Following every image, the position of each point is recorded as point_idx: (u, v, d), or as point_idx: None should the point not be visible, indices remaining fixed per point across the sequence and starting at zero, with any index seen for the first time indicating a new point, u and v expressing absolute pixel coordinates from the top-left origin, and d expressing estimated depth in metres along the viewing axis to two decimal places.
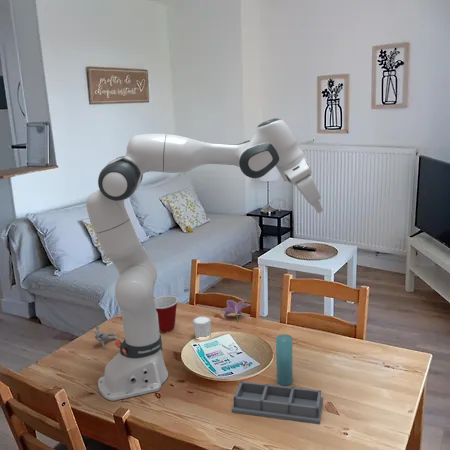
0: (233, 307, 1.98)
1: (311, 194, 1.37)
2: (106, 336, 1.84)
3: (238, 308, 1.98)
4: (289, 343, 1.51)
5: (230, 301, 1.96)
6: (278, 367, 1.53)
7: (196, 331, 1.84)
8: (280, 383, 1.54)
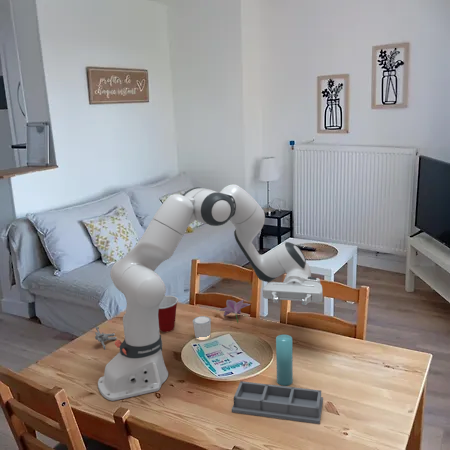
0: (233, 307, 1.98)
1: (322, 294, 1.66)
2: (106, 336, 1.84)
3: (238, 308, 1.98)
4: (289, 343, 1.51)
5: (229, 301, 1.96)
6: (278, 367, 1.53)
7: (196, 331, 1.84)
8: (280, 383, 1.54)
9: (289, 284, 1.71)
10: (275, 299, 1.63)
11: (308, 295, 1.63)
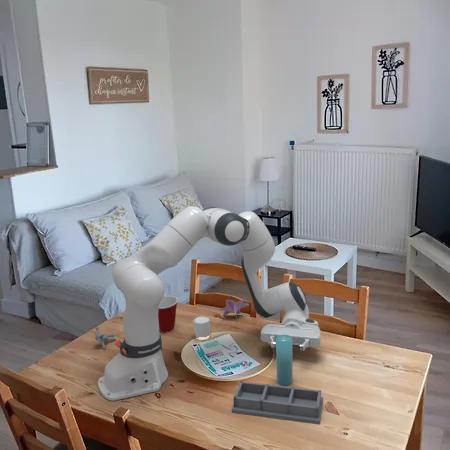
0: (232, 307, 1.98)
1: None
2: (106, 337, 1.83)
3: (237, 308, 1.98)
4: (289, 343, 1.51)
5: (229, 301, 1.96)
6: (278, 367, 1.53)
7: (196, 331, 1.84)
8: (280, 383, 1.54)
9: (287, 327, 1.71)
10: (273, 344, 1.63)
11: (306, 340, 1.63)
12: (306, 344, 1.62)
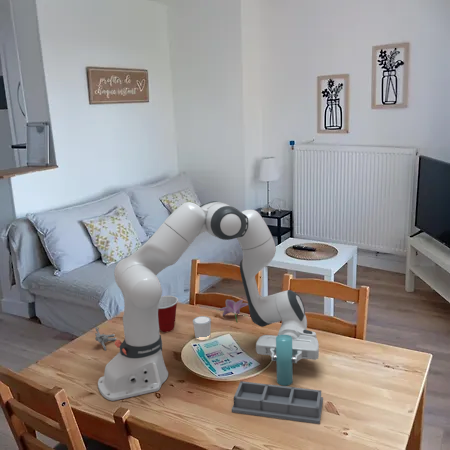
0: (232, 307, 1.98)
1: None
2: (106, 337, 1.83)
3: (237, 308, 1.99)
4: (289, 343, 1.51)
5: (228, 301, 1.96)
6: (278, 367, 1.53)
7: (196, 331, 1.84)
8: (280, 383, 1.54)
9: None
10: (273, 357, 1.54)
11: (298, 352, 1.55)
12: (298, 356, 1.54)
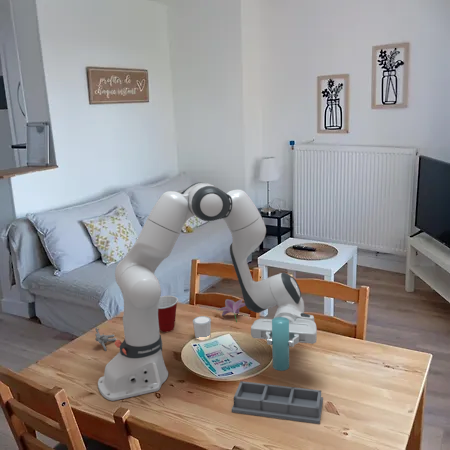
0: (231, 306, 1.98)
1: None
2: (106, 338, 1.83)
3: (236, 307, 1.99)
4: (286, 325, 1.43)
5: (228, 301, 1.96)
6: (274, 351, 1.46)
7: (196, 331, 1.84)
8: (276, 368, 1.47)
9: None
10: (269, 341, 1.47)
11: (296, 335, 1.48)
12: (296, 340, 1.47)
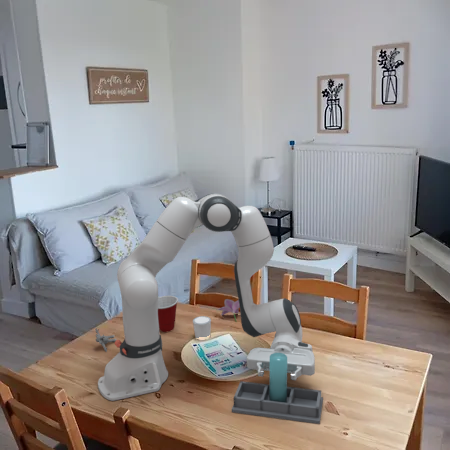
0: (231, 306, 1.99)
1: None
2: (107, 339, 1.82)
3: (236, 307, 1.99)
4: (284, 363, 1.38)
5: (227, 301, 1.97)
6: (271, 388, 1.41)
7: (196, 331, 1.84)
8: None
9: (277, 351, 1.50)
10: (260, 372, 1.42)
11: (298, 368, 1.42)
12: (298, 373, 1.41)
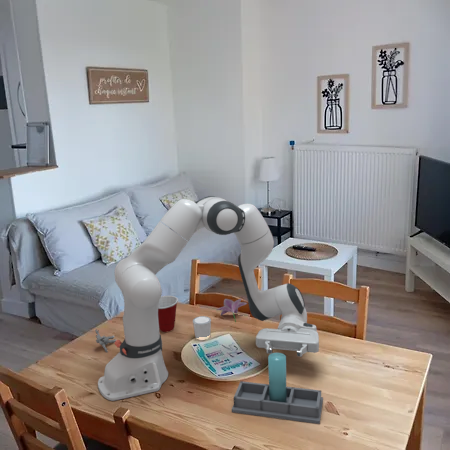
0: (230, 306, 1.99)
1: None
2: (107, 339, 1.82)
3: (235, 307, 1.99)
4: (282, 362, 1.38)
5: (227, 300, 1.97)
6: (271, 388, 1.41)
7: (196, 331, 1.84)
8: None
9: (284, 331, 1.62)
10: (269, 350, 1.54)
11: (303, 345, 1.54)
12: (304, 350, 1.53)
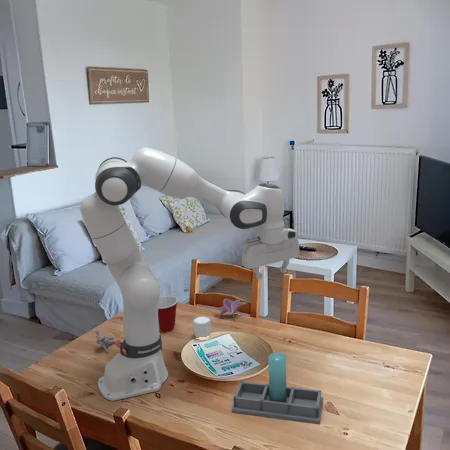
0: (229, 306, 1.99)
1: None
2: (107, 340, 1.81)
3: (234, 307, 2.00)
4: (283, 362, 1.38)
5: (226, 300, 1.97)
6: (271, 388, 1.41)
7: (196, 331, 1.84)
8: None
9: (269, 247, 1.55)
10: (259, 278, 1.57)
11: (287, 261, 1.61)
12: None
